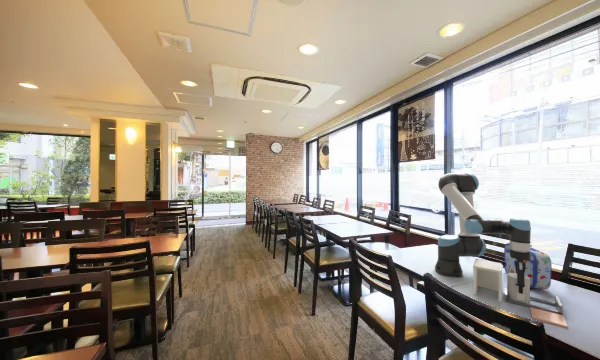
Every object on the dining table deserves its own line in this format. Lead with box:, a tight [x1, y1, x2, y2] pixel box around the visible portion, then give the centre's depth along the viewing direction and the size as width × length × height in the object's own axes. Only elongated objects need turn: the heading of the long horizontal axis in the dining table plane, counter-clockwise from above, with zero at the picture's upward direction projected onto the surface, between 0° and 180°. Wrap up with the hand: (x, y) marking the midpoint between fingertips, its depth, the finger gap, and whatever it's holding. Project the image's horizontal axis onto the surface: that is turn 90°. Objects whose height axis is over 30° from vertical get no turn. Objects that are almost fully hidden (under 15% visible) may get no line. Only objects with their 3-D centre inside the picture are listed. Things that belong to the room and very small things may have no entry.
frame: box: [504, 286, 564, 316], centre depth 113 cm, size 19×11×4 cm, turn 49°
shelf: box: [472, 258, 503, 302], centre depth 123 cm, size 11×14×15 cm
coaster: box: [529, 307, 569, 329], centre depth 101 cm, size 10×10×1 cm
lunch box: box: [502, 242, 552, 290], centre depth 137 cm, size 28×10×22 cm, turn 168°
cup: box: [506, 273, 531, 304], centre depth 116 cm, size 8×8×12 cm
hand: (519, 295), depth 115 cm, fingers open, 9 cm apart
